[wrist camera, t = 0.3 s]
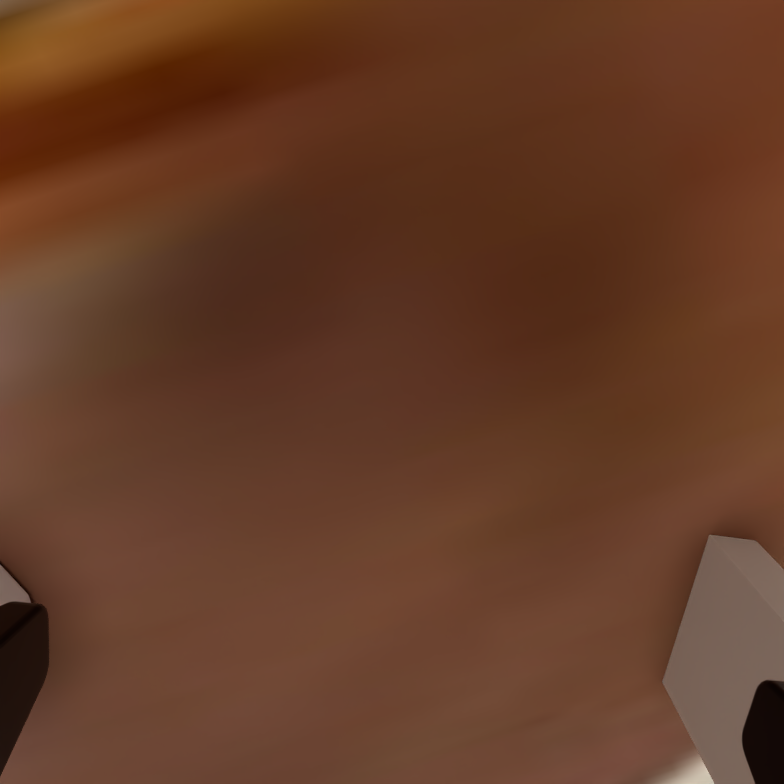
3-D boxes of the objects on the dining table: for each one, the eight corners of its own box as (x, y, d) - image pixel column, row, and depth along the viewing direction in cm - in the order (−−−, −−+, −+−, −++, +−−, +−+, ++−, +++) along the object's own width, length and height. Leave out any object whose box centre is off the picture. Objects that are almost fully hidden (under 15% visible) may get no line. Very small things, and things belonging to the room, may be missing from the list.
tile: (709, 687, 25) (822, 875, 19) (662, 681, 25) (758, 868, 19) (760, 541, 24) (905, 691, 17) (709, 534, 23) (835, 682, 17)
